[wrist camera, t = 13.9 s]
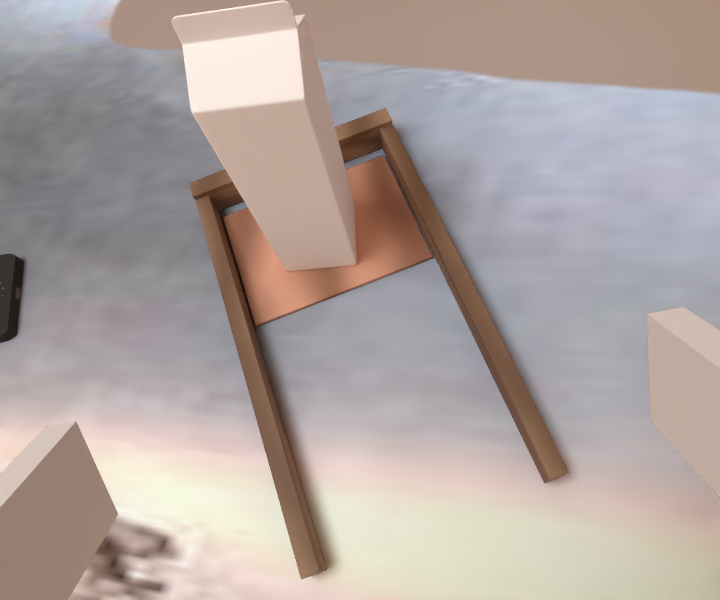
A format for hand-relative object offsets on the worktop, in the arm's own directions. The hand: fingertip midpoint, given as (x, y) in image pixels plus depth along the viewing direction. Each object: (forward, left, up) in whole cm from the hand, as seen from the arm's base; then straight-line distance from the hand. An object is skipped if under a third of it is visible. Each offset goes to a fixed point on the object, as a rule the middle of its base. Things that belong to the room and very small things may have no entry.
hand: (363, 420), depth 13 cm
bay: (-1, -14, -27) cm, 30 cm away
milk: (0, -22, -27) cm, 35 cm away
